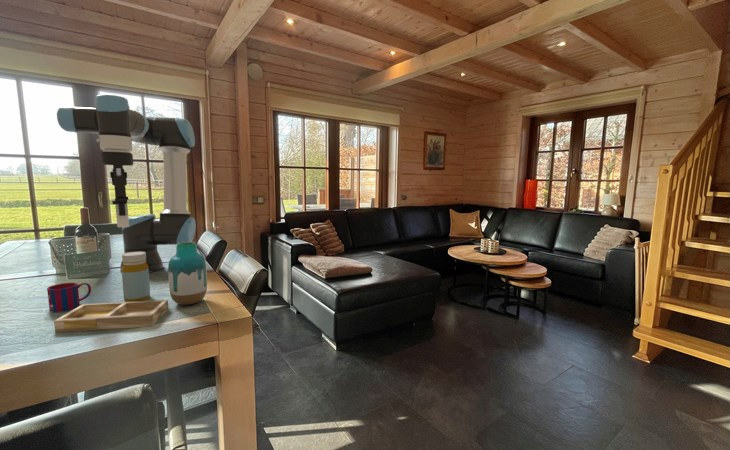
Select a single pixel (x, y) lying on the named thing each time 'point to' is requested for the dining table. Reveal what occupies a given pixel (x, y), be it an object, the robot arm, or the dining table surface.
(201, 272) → the vase
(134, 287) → the bottle
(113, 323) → the caddy
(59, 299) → the mug
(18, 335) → the dining table surface
